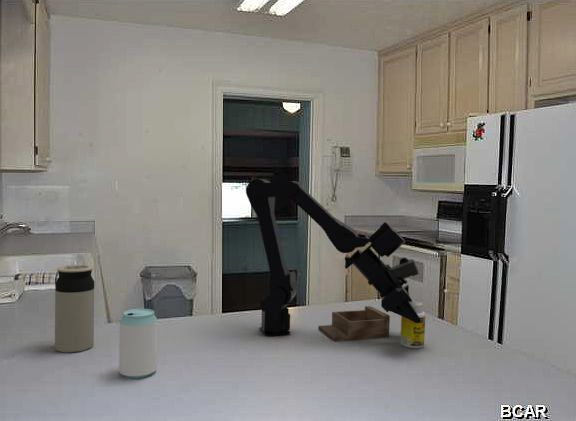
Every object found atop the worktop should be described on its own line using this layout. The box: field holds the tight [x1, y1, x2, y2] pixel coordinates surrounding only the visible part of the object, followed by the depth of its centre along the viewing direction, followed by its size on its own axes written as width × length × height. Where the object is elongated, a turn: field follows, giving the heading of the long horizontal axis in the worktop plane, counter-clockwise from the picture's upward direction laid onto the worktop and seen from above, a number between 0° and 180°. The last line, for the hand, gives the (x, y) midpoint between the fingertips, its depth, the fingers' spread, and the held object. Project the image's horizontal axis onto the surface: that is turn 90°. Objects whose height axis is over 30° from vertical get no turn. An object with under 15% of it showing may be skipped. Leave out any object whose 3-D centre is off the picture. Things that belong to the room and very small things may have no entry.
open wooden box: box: [317, 305, 391, 342], centre depth 128 cm, size 15×10×6 cm
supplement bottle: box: [399, 301, 426, 349], centre depth 119 cm, size 6×6×10 cm
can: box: [118, 308, 159, 379], centre depth 97 cm, size 7×7×12 cm
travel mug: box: [54, 264, 95, 354], centre depth 110 cm, size 8×8×18 cm
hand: (419, 318), depth 118 cm, fingers closed on supplement bottle, 6 cm apart
